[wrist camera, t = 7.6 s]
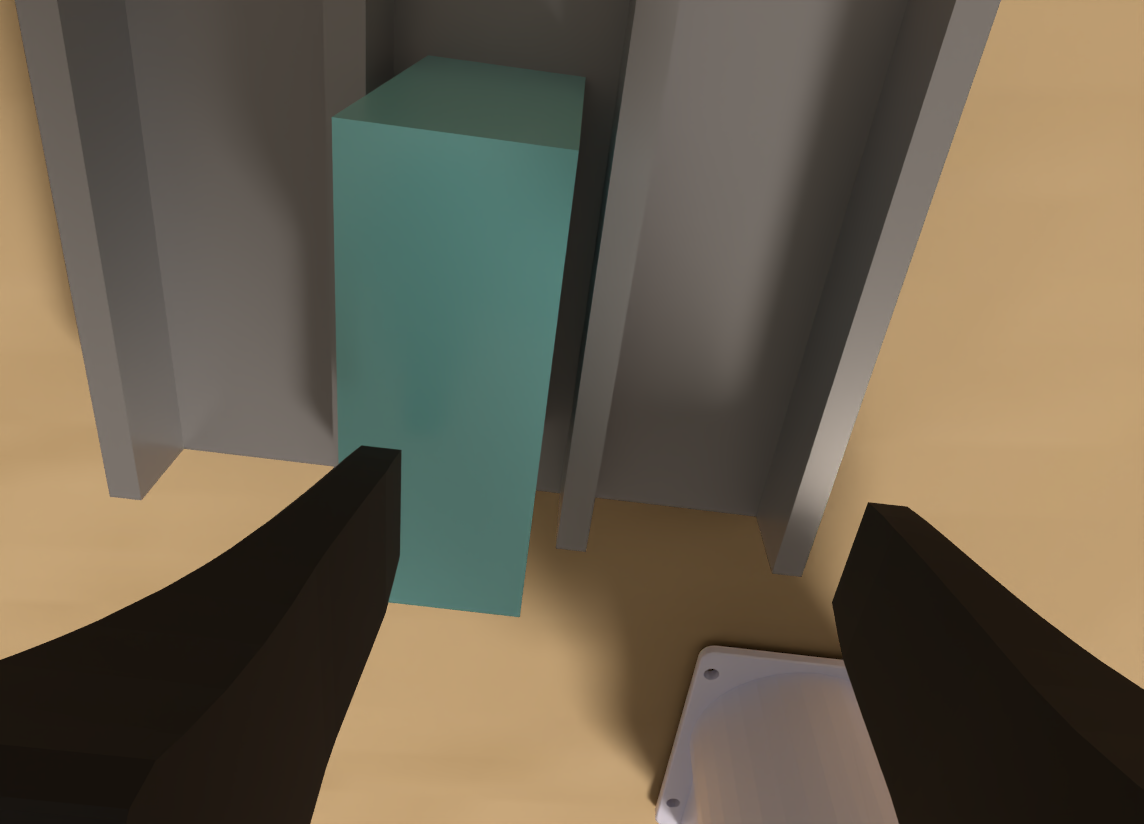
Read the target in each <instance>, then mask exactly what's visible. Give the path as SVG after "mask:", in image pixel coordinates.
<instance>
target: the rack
mask: <svg viewBox="0 0 1144 824" xmlns="http://www.w3.org/2000/svg"><path fill="white" fill-rule="evenodd" d="M1000 1H1001V0H15V4H16V9H17V14H18V19H19V25H20V30H21V35H22V40H23V46H24V51H25V56H26V61H27V66H28V72H29V77H30V82H31V87H32V92H33V98H34V103H35V108H36V113H37V119H38V124H39V129H40V134H41V139H42V145H43V150H44V155H45V160H46V165H47V171H48V176H49V181H50V186H51V192H52V197H53V202H54V207H55V212H56V218H57V223H58V228H59V233H60V238H61V244H62V249H63V254H64V259H65V265H66V270H67V275H68V280H69V285H70V291H71V296H72V301H73V306H74V312H75V317H76V322H77V327H78V332H79V338H80V343H81V348H82V353H83V358H84V364H85V369H86V374H87V379H88V385H89V390H90V395H91V400H92V405H93V411H94V416H95V421H96V426H97V431H98V437H99V442H100V447H101V452H102V458H103V463H104V468H105V473H106V478H107V484H108V489H109V494H110V497H118V498H127V499H135V500H142V499H143V498H144V496H145V495H146V494H147V493H148V491H149V490H150V489H151V488H152V487H153V485H154V484H155V483H156V482H157V481H158V479H159V478H160V477H161V476H162V474H163V473H164V472H165V471H166V470H167V468H168V467H169V466H170V465H171V464H172V462H173V461H174V460H175V459H176V458H177V456H178V455H179V454H180V453H181V451H182V450H183V449H191V450H200V451H208V452H217V453H225V454H234V455H242V456H250V457H259V458H267V459H276V460H284V461H293V462H301V463H309V464H318V465H326V466H334V468H335V467H336V466H337V465H338V414H337V363H336V312H335V261H334V210H333V159H332V117H333V116H334V115H336V114H337V113H339V112H340V111H342V110H344V109H345V108H347V107H348V106H350V105H351V104H353V103H354V102H356V101H358V100H359V99H361V98H362V97H364V96H365V95H367V94H368V93H370V92H372V91H373V90H375V89H376V88H378V87H379V86H381V85H382V84H384V83H386V82H387V81H389V80H390V79H392V78H393V77H395V76H397V75H398V74H400V73H401V72H403V71H404V70H406V69H407V68H409V67H411V66H412V65H414V64H415V63H417V62H418V61H420V60H421V59H423V58H425V57H426V56H428V55H430V56H437V57H444V58H452V59H459V60H466V61H473V62H480V63H488V64H495V65H502V66H509V67H516V68H524V69H531V70H538V71H545V72H552V73H559V74H567V75H574V76H581V77H586V80H585V90H584V101H583V112H582V122H581V133H580V144H579V153H578V161H577V169H576V177H575V185H574V193H573V201H572V209H571V216H570V224H569V232H568V240H567V248H566V256H565V264H564V272H563V280H562V287H561V295H560V303H559V311H558V319H557V327H556V335H555V343H554V351H553V358H552V366H551V374H550V382H549V390H548V398H547V406H546V414H545V421H544V429H543V437H542V445H541V453H540V461H539V469H538V477H537V485H536V490H537V491H545V492H554V493H560V495H559V510H558V524H557V538H556V548H557V549H566V550H574V551H583V552H586V548H587V542H588V536H589V531H590V525H591V519H592V513H593V507H594V501H595V497H596V498H604V499H613V500H621V501H629V502H638V503H646V504H655V505H663V506H671V507H680V508H688V509H697V510H705V511H714V512H722V513H730V514H739V515H747V516H756V518H757V521H758V525H759V529H760V532H761V536H762V539H763V543H764V547H765V550H766V554H767V557H768V561H769V565H770V568H771V572H772V574H781V575H790V576H798V577H802V574H803V571H804V568H805V565H806V562H807V559H808V556H809V554H810V551H811V548H812V545H813V542H814V539H815V536H816V533H817V530H818V528H819V525H820V522H821V519H822V516H823V513H824V510H825V507H826V504H827V502H828V499H829V496H830V493H831V490H832V487H833V484H834V481H835V478H836V476H837V473H838V470H839V467H840V464H841V461H842V458H843V455H844V452H845V449H846V447H847V444H848V441H849V438H850V435H851V432H852V429H853V426H854V423H855V421H856V418H857V415H858V412H859V409H860V406H861V403H862V400H863V397H864V395H865V392H866V389H867V386H868V383H869V380H870V377H871V374H872V371H873V369H874V366H875V363H876V360H877V357H878V354H879V351H880V348H881V345H882V343H883V340H884V337H885V334H886V331H887V328H888V325H889V322H890V319H891V316H892V314H893V311H894V308H895V305H896V302H897V299H898V296H899V293H900V290H901V288H902V285H903V282H904V279H905V276H906V273H907V270H908V267H909V264H910V262H911V259H912V256H913V253H914V250H915V247H916V244H917V241H918V238H919V236H920V233H921V230H922V227H923V224H924V221H925V218H926V215H927V212H928V210H929V207H930V204H931V201H932V198H933V195H934V192H935V189H936V186H937V183H938V181H939V178H940V175H941V172H942V169H943V166H944V163H945V160H946V157H947V155H948V152H949V149H950V146H951V143H952V140H953V137H954V134H955V131H956V129H957V126H958V123H959V120H960V117H961V114H962V111H963V108H964V105H965V103H966V100H967V97H968V94H969V91H970V88H971V85H972V82H973V79H974V77H975V74H976V71H977V68H978V65H979V62H980V59H981V56H982V53H983V50H984V48H985V45H986V42H987V39H988V36H989V33H990V30H991V27H992V24H993V22H994V19H995V16H996V13H997V10H998V7H999V4H1000Z"/></svg>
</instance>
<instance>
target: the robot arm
mask: <svg viewBox="0 0 1144 824" xmlns="http://www.w3.org/2000/svg"><path fill="white" fill-rule="evenodd" d="M401 454H402V450H398V449H390V448H381V447H372V446H363V445H361V446H360V447H359V448H357V449H356V450H355V451H353V452H352V453H351V454H350V455H349V456H347V457H346V458H345V459H344V460H343V461H342V462H340V463H339V464H338V465H337V466H336V467H335V468H333V469H332V470H331V471H330V472H329V473H328V474H326V475H325V476H324V477H323V478H322V479H321V480H319V481H318V482H317V483H316V484H315V485H313V486H312V487H311V488H310V489H309V490H307V491H306V492H305V493H304V494H302V495H301V496H300V497H299V498H297V499H296V500H295V501H294V502H292V503H291V504H290V505H289V506H287V507H286V508H285V509H284V510H282V511H281V512H280V513H279V514H277V515H276V516H275V517H273V518H272V519H271V520H270V521H268V522H267V523H266V524H264V525H263V526H261V527H260V528H258V529H257V530H256V531H254V532H253V533H251V534H250V535H249V536H247V537H246V538H244V539H243V540H242V541H240V542H239V543H237V544H236V545H235V546H233V547H232V548H230V549H229V550H227V551H226V552H224V553H223V554H221V555H220V556H218V557H217V558H215V559H213V560H212V561H210V562H209V563H207V564H205V565H204V566H202V567H200V568H198V569H197V570H195V571H193V572H192V573H190V574H188V575H186V576H185V577H183V578H181V579H179V580H178V581H176V582H174V583H172V584H171V585H169V586H167V587H165V588H163V589H161V590H160V591H158V592H155V593H153V594H151V595H149V596H147V597H145V598H143V599H141V600H139V601H137V602H135V603H133V604H131V605H129V606H127V607H125V608H123V609H121V610H119V611H117V612H115V613H113V614H111V615H109V616H107V617H105V618H102V619H100V620H98V621H96V622H94V623H92V624H89V625H87V626H85V627H82V628H80V629H78V630H75V631H73V632H71V633H68V634H66V635H64V636H61V637H59V638H56V639H54V640H51V641H49V642H46V643H44V644H41V645H39V646H36V647H34V648H31V649H28V650H26V651H23V652H21V653H18V654H15V655H13V656H10V657H7V658H4V659H2V660H0V824H310V823H311V819H312V816H313V812H314V808H315V805H316V801H317V798H318V794H319V791H320V787H321V784H322V780H323V777H324V773H325V770H326V766H327V763H328V761H329V758H330V755H331V752H332V749H333V746H334V743H335V740H336V738H337V735H338V733H339V730H340V727H341V725H342V722H343V720H344V717H345V715H346V712H347V710H348V707H349V705H350V702H351V700H352V697H353V695H354V692H355V690H356V687H357V685H358V682H359V680H360V677H361V674H362V672H363V669H364V667H365V664H366V662H367V659H368V657H369V654H370V652H371V649H372V647H373V644H374V641H375V639H376V636H377V634H378V631H379V629H380V626H381V623H382V621H383V618H384V616H385V613H386V609H387V605H388V602H389V598H390V594H391V590H392V586H393V582H394V578H395V574H396V570H397V566H398V562H399V558H400V526H401ZM832 605H833V610H834V616H835V622H836V627H837V633H838V638H839V642H840V647H841V652H842V656H843V660H840V659H831V658H822V657H813V656H804V655H796V654H787V653H778V652H769V651H760V650H751V649H742V648H733V647H724V646H708V647H705V648H704V649H703V650H701V651H700V653H699V655H698V659H697V662H696V666H695V670H694V673H693V677H692V680H691V684H690V687H689V691H688V694H687V698H686V702H685V705H684V709H683V712H682V716H681V719H680V723H679V726H678V730H677V734H676V737H675V741H674V744H673V748H672V751H671V755H670V758H669V762H668V765H667V769H666V773H665V776H664V780H663V783H662V787H661V790H660V794H659V797H658V801H657V805H656V808H655V817H656V821H657V822H658V823H659V824H1144V689H1142V688H1141V687H1139V686H1138V685H1136V684H1135V683H1133V682H1131V681H1130V680H1128V679H1127V678H1125V677H1124V676H1122V675H1121V674H1119V673H1118V672H1116V671H1115V670H1113V669H1112V668H1110V667H1109V666H1107V665H1106V664H1104V663H1103V662H1101V661H1100V660H1099V659H1097V658H1096V657H1094V656H1093V655H1092V654H1090V653H1089V652H1087V651H1086V650H1085V649H1083V648H1082V647H1080V646H1079V645H1078V644H1076V643H1075V642H1074V641H1072V640H1071V639H1070V638H1068V637H1067V636H1066V635H1064V634H1063V633H1062V632H1061V631H1059V630H1058V629H1057V628H1055V627H1054V626H1053V625H1051V624H1050V623H1049V622H1047V621H1046V620H1045V619H1043V618H1042V617H1041V616H1039V615H1038V614H1037V613H1036V612H1034V611H1033V610H1032V609H1031V608H1029V607H1028V606H1027V605H1026V604H1024V603H1023V602H1022V601H1021V600H1019V599H1018V598H1017V597H1016V596H1015V595H1013V594H1012V593H1011V592H1010V591H1009V590H1007V589H1006V588H1005V587H1004V586H1002V585H1001V584H1000V583H999V582H998V581H997V580H995V579H994V578H993V577H992V576H991V575H989V574H988V573H987V572H986V571H985V570H983V569H982V568H981V567H980V566H979V565H978V564H976V563H975V562H974V561H973V560H972V559H971V558H969V557H968V556H967V555H966V554H965V553H964V552H962V551H961V550H960V549H959V548H958V547H957V546H955V545H954V544H953V543H952V542H951V541H950V540H948V539H947V538H946V537H945V536H944V535H942V534H941V533H940V532H939V531H938V530H936V529H935V528H934V527H933V526H932V525H930V524H929V523H928V522H927V521H925V520H924V519H923V518H922V517H920V516H919V515H918V514H916V513H915V512H914V511H912V510H911V509H910V508H908V507H905V506H896V505H887V504H878V503H869V502H868V504H867V507H866V510H865V512H864V515H863V518H862V521H861V523H860V526H859V529H858V532H857V535H856V537H855V540H854V543H853V546H852V548H851V551H850V554H849V557H848V560H847V562H846V565H845V568H844V571H843V573H842V576H841V579H840V582H839V585H838V587H837V590H836V593H835V596H834V598H833V601H832ZM708 669H715V670H713V671H707V670H708Z"/></svg>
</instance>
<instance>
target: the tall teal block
mask: <svg viewBox="0 0 1144 824" xmlns="http://www.w3.org/2000/svg"><path fill="white" fill-rule="evenodd" d="M585 80H586V77H581V76H574V75H567V74H559V73H552V72H545V71H538V70H531V69H524V68H516V67H509V66H502V65H495V64H488V63H480V62H473V61H466V60H459V59H452V58H444V57H437V56H430V55H428V56H426V57H425V58H423V59H421V60H420V61H418V62H417V63H415V64H414V65H412V66H411V67H409V68H407V69H406V70H404V71H403V72H401V73H400V74H398V75H397V76H395V77H393V78H392V79H390V80H389V81H387V82H386V83H384V84H382V85H381V86H379V87H378V88H376V89H375V90H373V91H372V92H370V93H368V94H367V95H365V96H364V97H362V98H361V99H359V100H358V101H356V102H354V103H353V104H351V105H350V106H348V107H347V108H345V109H344V110H342V111H340V112H339V113H337V114H336V115H334V116H333V117H332V159H333V210H334V261H335V312H336V363H337V414H338V464H339V463H340V462H342V461H343V460H344V459H345V458H346V457H347V456H349V455H350V454H351V453H352V452H353V451H355V450H356V449H357V448H359V447H360V446H361V445H363V446H372V447H381V448H390V449H398V450H402V454H401V526H400V558H399V562H398V566H397V570H396V574H395V578H394V582H393V586H392V590H391V594H390V598H389V602H391V603H399V604H408V605H417V606H426V607H435V608H444V609H452V610H461V611H470V612H479V613H488V614H496V615H505V616H514V617H520V611H521V603H522V595H523V587H524V579H525V571H526V563H527V556H528V548H529V540H530V532H531V524H532V516H533V508H534V500H535V492H536V485H537V477H538V469H539V461H540V453H541V445H542V437H543V429H544V421H545V414H546V406H547V398H548V390H549V382H550V374H551V366H552V358H553V351H554V343H555V335H556V327H557V319H558V311H559V303H560V295H561V287H562V280H563V272H564V264H565V256H566V248H567V240H568V232H569V224H570V216H571V209H572V201H573V193H574V185H575V177H576V169H577V161H578V153H579V144H580V133H581V122H582V112H583V101H584V90H585Z"/></svg>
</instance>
